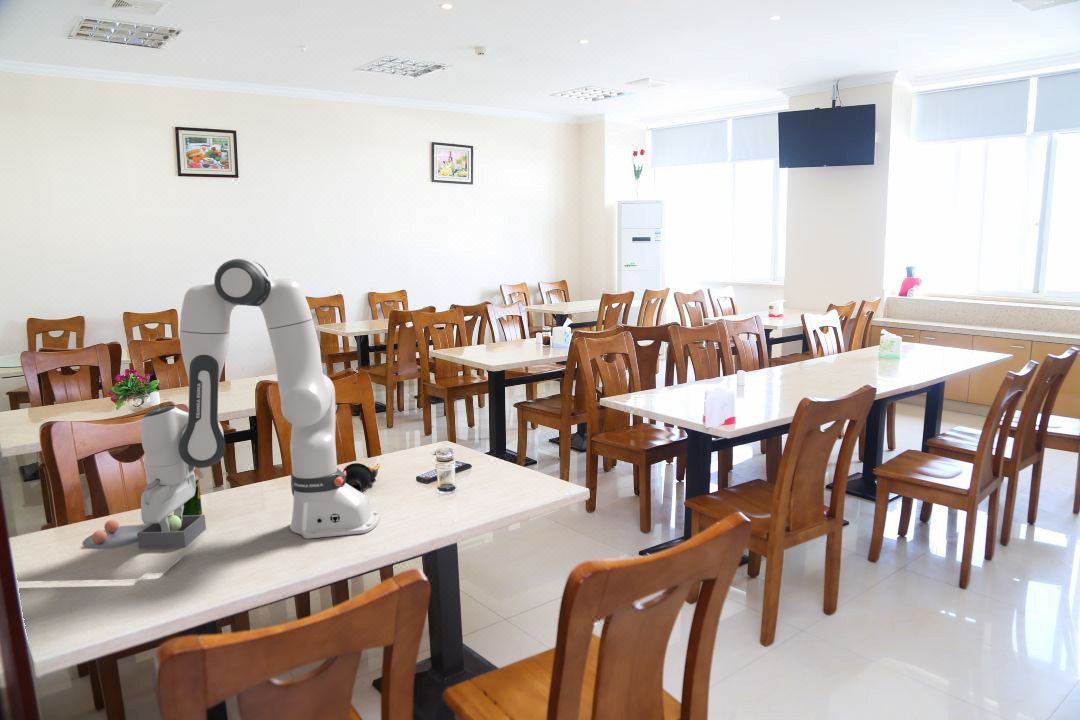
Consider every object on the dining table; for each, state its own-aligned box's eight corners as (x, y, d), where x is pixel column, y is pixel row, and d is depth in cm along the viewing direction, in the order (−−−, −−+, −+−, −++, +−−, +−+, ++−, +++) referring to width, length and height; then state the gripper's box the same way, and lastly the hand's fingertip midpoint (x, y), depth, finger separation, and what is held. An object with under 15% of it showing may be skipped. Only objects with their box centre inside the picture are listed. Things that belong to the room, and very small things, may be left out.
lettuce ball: (185, 528, 188) (183, 512, 187) (177, 535, 184) (175, 518, 183) (168, 529, 188) (166, 512, 188) (159, 536, 184) (157, 519, 183)
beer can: (182, 524, 199) (177, 480, 197) (179, 518, 203) (174, 475, 201) (204, 520, 202) (199, 476, 200) (200, 514, 206) (196, 471, 204)
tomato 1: (110, 540, 186) (108, 528, 186) (103, 545, 183) (101, 533, 182) (97, 540, 186) (96, 528, 186) (89, 546, 183) (88, 533, 182)
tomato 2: (122, 529, 193) (120, 517, 192) (115, 534, 190) (113, 522, 189) (109, 529, 193) (108, 518, 192) (102, 534, 190) (100, 522, 189)
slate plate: (162, 528, 196) (162, 524, 196) (131, 552, 181) (131, 548, 181) (105, 530, 196) (104, 525, 196) (69, 554, 181) (69, 549, 181)
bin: (206, 533, 192) (204, 514, 191) (185, 551, 181) (183, 532, 180) (162, 534, 192) (160, 515, 191) (139, 552, 181) (137, 533, 180)
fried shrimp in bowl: (332, 481, 216) (345, 445, 232) (352, 509, 221) (364, 472, 237) (360, 470, 215) (371, 435, 231) (379, 498, 220) (390, 461, 235)
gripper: (157, 487, 173) (164, 544, 176) (198, 460, 193) (203, 512, 196) (130, 487, 173) (137, 544, 176) (173, 461, 194) (179, 512, 196)
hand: (172, 527), depth 186 cm, fingers closed on lettuce ball, 4 cm apart
